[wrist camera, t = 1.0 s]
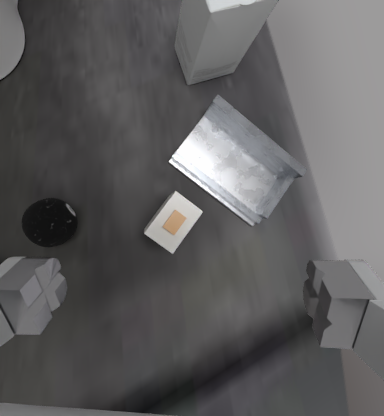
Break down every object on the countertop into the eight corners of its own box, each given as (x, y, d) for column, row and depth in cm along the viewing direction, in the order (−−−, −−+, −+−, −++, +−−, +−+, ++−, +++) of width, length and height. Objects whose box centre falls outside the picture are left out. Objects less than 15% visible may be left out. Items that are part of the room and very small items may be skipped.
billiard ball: (90, 227, 37) (79, 229, 31) (51, 252, 36) (33, 259, 30) (64, 191, 36) (49, 187, 30) (25, 216, 35) (1, 216, 29)
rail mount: (168, 162, 39) (172, 153, 33) (206, 112, 40) (217, 94, 34) (250, 225, 41) (267, 227, 35) (284, 175, 42) (307, 169, 36)
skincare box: (221, 35, 41) (267, -71, 26) (235, 76, 41) (288, -6, 26) (171, 47, 40) (188, -59, 24) (185, 89, 40) (211, 10, 24)
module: (143, 229, 38) (144, 233, 29) (168, 196, 39) (176, 190, 29) (165, 244, 39) (173, 254, 29) (189, 212, 39) (204, 211, 30)
